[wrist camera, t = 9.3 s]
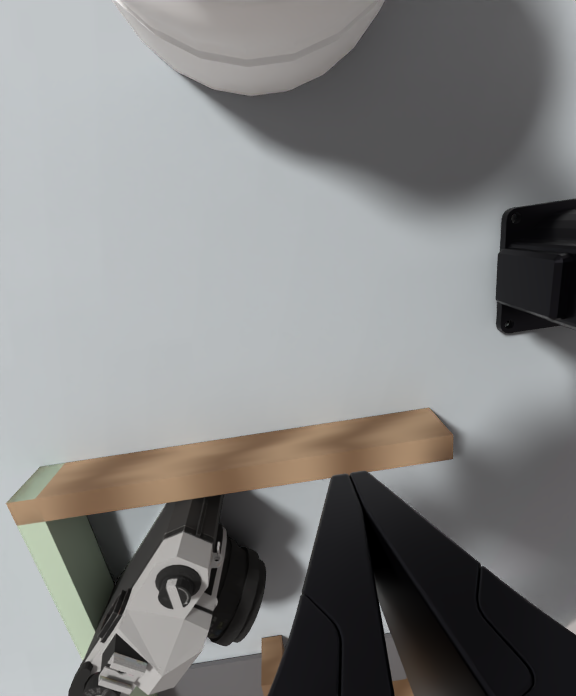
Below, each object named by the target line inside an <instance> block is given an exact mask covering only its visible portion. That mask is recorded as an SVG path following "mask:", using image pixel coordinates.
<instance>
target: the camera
mask: <svg viewBox="0 0 576 696" xmlns="http://www.w3.org/2000/svg"><path fill="white" fill-rule="evenodd" d="M223 497H224V494H221V495H215V496H208V497H202V498H195V499H189V500H182V501H176V502H169V503H166V504H165V506H164V508H163V509H162V511H161V512H160V514H159V516H158V517H157V519H156V520H155V522H154V524H153V525H152V527H151V528H150V530H149V532H148V533H147V535H146V536H145V538H144V540H143V541H142V543H141V544H140V546H139V548H138V549H137V551H136V552H135V554H134V556H133V557H132V559H131V560H130V562H129V564H128V565H127V567H126V568H125V570H124V572H123V573H122V575H121V576H120V578H119V580H118V581H117V583H116V585H115V587H114V588H113V590H112V593H111V597H110V599H109V601H108V604H107V606H106V608H105V611H104V613H103V615H102V618H101V620H100V622H99V625H98V627H97V629H96V632H95V634H94V636H93V639H92V641H91V643H90V646H89V648H88V650H87V653H86V655H85V658H84V660H83V662H82V663H81V665H80V667H79V669H78V671H77V673H76V674H75V677H74V679H73V681H72V684H71V687H70V689H69V695H68V696H129V695H130V694H131V693H132V691H133V690H134V688H135V687H136V686H137V687H138V688H140V689H141V690H142V691H144V692H145V693H146V694H147V695H150V694H154V693H157V692H160V691H164V690H167V689H170V688H174V687H175V685H176V684H177V683H178V682H179V680H180V679H181V678H182V676H183V675H184V674H185V672H186V671H187V670H188V668H189V667H190V666H191V665H192V663H193V662H194V661H195V659H196V658H197V657H198V655H199V654H200V653H201V651H202V649H203V647H204V644H205V641H206V638H207V637H209V639H210V640H211V641H212V642H214V643H217V644H219V645H222V646H228V645H230V644H231V643H232V642H237V643H238V642H240V641H241V640H243V639H244V638H245V636H246V635H247V634H248V632H249V631H250V629H251V627H252V625H253V623H254V621H255V619H256V617H257V614H258V611H259V608H260V605H261V602H262V598H263V594H264V589H265V581H266V569H265V565H264V563H263V561H262V560H260V559H259V557H258V554H257V553H256V552H255V551H253V550H251V549H248V548H246V547H241V548H240V547H239V546H238V545H237V543H236V541H235V540H233V539H231V538H229V537H227V532H226V529H225V528H224V527H222V525H221V524H220V523H219V519H220V513H221V507H222V501H223Z"/></svg>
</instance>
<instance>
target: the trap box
mask: <svg viewBox="0 0 576 696" xmlns="http://www.w3.org/2000/svg"><path fill="white" fill-rule="evenodd" d="M450 459H453V434H452V433H451V432H450V431H449V430H448V428H447V427H446V426H445V425H444V424H443V423H442V422H441V421H440V419H439V418H438V417H437V416H436V415H435V414H434V413H433V412H432V410H431V409H430V408H424V409H418V410H411V411H405V412H398V413H391V414H385V415H378V416H372V417H365V418H358V419H352V420H345V421H339V422H332V423H325V424H319V425H312V426H306V427H299V428H293V429H286V430H279V431H273V432H266V433H260V434H253V435H246V436H240V437H233V438H227V439H220V440H214V441H207V442H200V443H194V444H187V445H181V446H174V447H167V448H161V449H154V450H148V451H141V452H134V453H128V454H121V455H115V456H108V457H102V458H95V459H88V460H82V461H75V462H69V463H65V464H64V465H63V466H62V467H61V469H60V470H59V471H58V472H57V473H56V474H55V476H54V477H53V478H52V479H51V480H50V482H49V483H48V484H47V485H46V486H45V488H44V489H43V490H42V491H41V492H40V493H39V495H38V496H37V497H36V498H35V499H31V500H24V501H18V500H17V501H18V502H15V501H14V500H13V501H14V502H13V501H12V500H11V499H12V498H11V499H10V500H11V503H9V502H10V500H9V501H8V503H6V504H7V506H8V508H10V509H9V510H10V512H11V514H12V516H13V519H14V521H15V523H16V524H17V525H18V526H19V525H25V524H32V522H33V523H34V522H35V523H39V522H45V521H52V520H58V519H65V518H71V517H78V516H84V515H91V514H97V513H104V512H110V511H117V510H123V509H130V508H137V507H143V506H150V505H156V504H163V503H169V502H176V501H182V500H189V499H195V498H202V497H208V496H215V495H221V494H228V493H234V492H241V491H247V490H254V489H260V488H267V487H273V486H280V485H287V484H293V483H300V482H306V481H313V480H319V479H326V478H331V477H332V476H333V475H339V474H345V473H346V474H348V475H350V473H352V472H358V471H367V472H371V471H378V470H384V469H391V468H397V467H404V466H410V465H417V464H423V463H430V462H436V461H443V460H450ZM52 466H53V465H52ZM42 469H43V468H41V470H40V471H42ZM46 470H47V469H46ZM50 470H51V469H50ZM50 470H49V471H50ZM47 471H48V470H47ZM37 472H38V470H37V471H36V473H37ZM43 472H44V469H43ZM38 473H40V472H38ZM34 474H35V473H34ZM34 474H33V475H34ZM42 474H43V473H42ZM33 475H32V476H31V478H32V477H34V476H33ZM38 475H39V474H38ZM40 475H41V474H40ZM40 475H39V476H40ZM43 475H44V474H43ZM41 477H42V476H41ZM29 479H30V478H29ZM29 479H28V480H29ZM32 479H33V478H32ZM35 479H36V478H35ZM31 481H32V480H31ZM27 482H28V481H27ZM25 483H26V482H25ZM30 483H31V482H30ZM23 486H24V485H23ZM25 486H26V484H25ZM25 486H24V487H25ZM29 486H30V485H29ZM24 487H23V488H24ZM31 487H32V486H31ZM23 488H22V490H24V489H25V490H26V488H27V487H26V488H24V489H23ZM20 490H21V489H20ZM28 491H29V490H28ZM17 492H18V491H17ZM19 492H20V491H19ZM28 493H29V492H28ZM15 495H16V494H15ZM15 495H13V496H12V497H14V499H16V497H15ZM23 495H24V494H23ZM29 495H30V494H29ZM19 497H20V496H19ZM24 498H25V497H24ZM22 499H23V498H22ZM33 508H34V509H33ZM15 512H16V513H15ZM33 513H34V514H33ZM23 514H24V515H23ZM37 514H38V515H37ZM32 517H33V518H32ZM26 518H27V519H26ZM43 518H44V519H43ZM18 519H19V520H18ZM32 519H33V520H32ZM36 519H37V520H36ZM41 519H42V521H41ZM26 520H27V521H26ZM28 521H30V522H31V523H30V522H28ZM27 522H28V523H27ZM19 523H20V524H19ZM24 523H25V524H24ZM283 653H284V645H283V640H282V636H281V635H280V636H274V637H267V638H262V664H261V687H262V691H263V695H264V696H267V695H268V693H269V690H270V688H271V685H272V683H273V680H274V678H275V675H276V673H277V670H278V667H279V664H280V662H281V659H282V656H283ZM406 677H407V676H406ZM392 682H393V688H394V694H395V696H414V695H413V692H412V689H411V687H410V684H409V681H408V679H403V680H396V681H392Z"/></svg>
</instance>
